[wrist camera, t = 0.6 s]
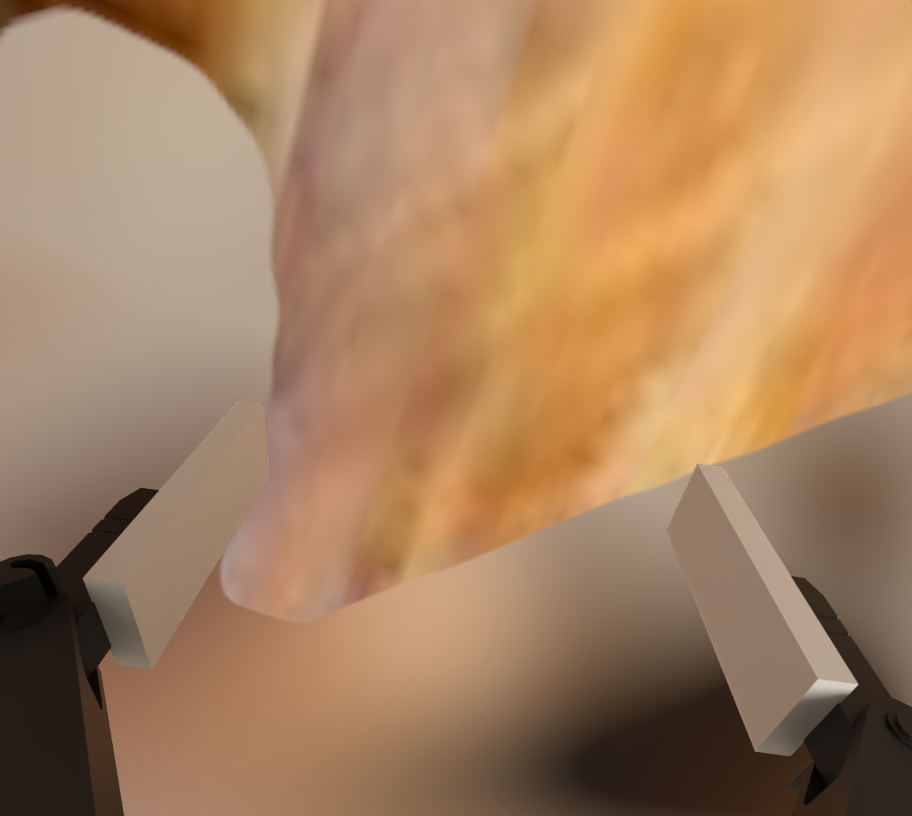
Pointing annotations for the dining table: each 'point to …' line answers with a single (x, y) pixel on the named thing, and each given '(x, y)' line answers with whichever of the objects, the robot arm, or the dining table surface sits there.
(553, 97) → the dining table surface
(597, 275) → the dining table surface
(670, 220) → the dining table surface
